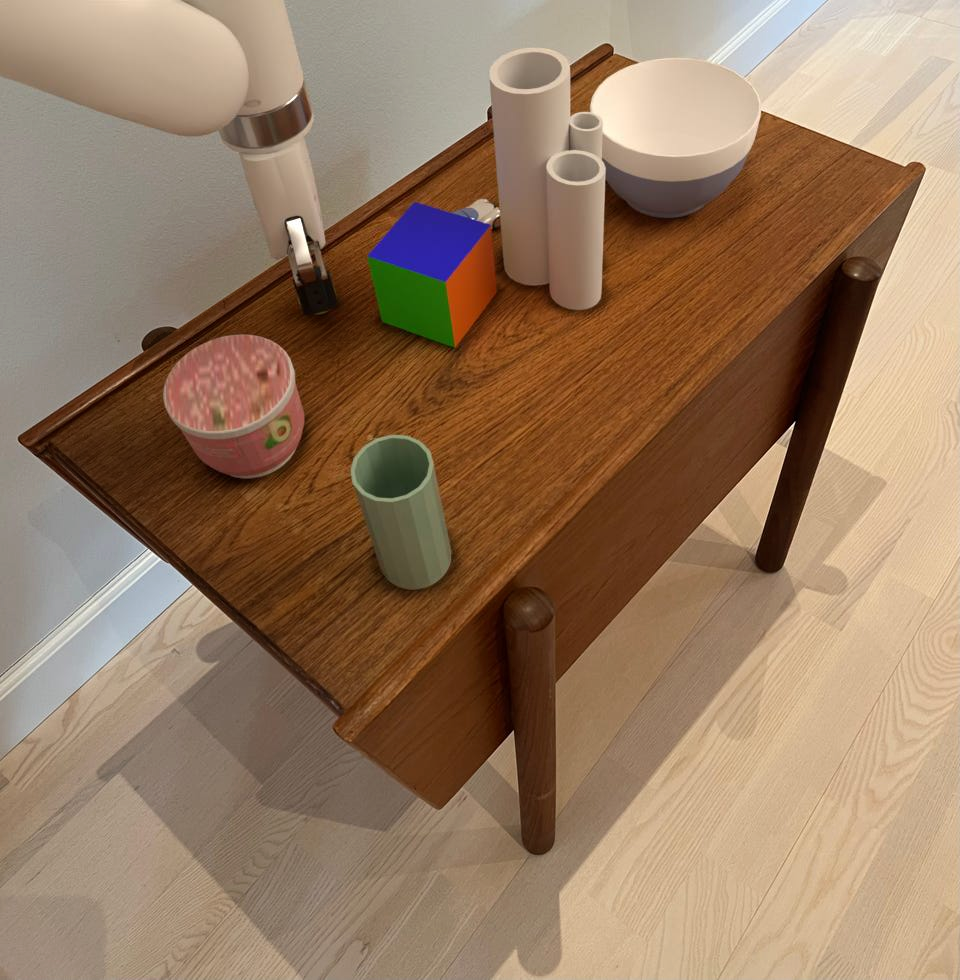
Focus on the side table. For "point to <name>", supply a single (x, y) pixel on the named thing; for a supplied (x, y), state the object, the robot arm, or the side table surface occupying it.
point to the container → (237, 404)
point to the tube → (402, 510)
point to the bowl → (675, 132)
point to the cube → (434, 273)
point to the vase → (548, 178)
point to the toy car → (482, 212)
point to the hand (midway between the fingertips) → (313, 274)
